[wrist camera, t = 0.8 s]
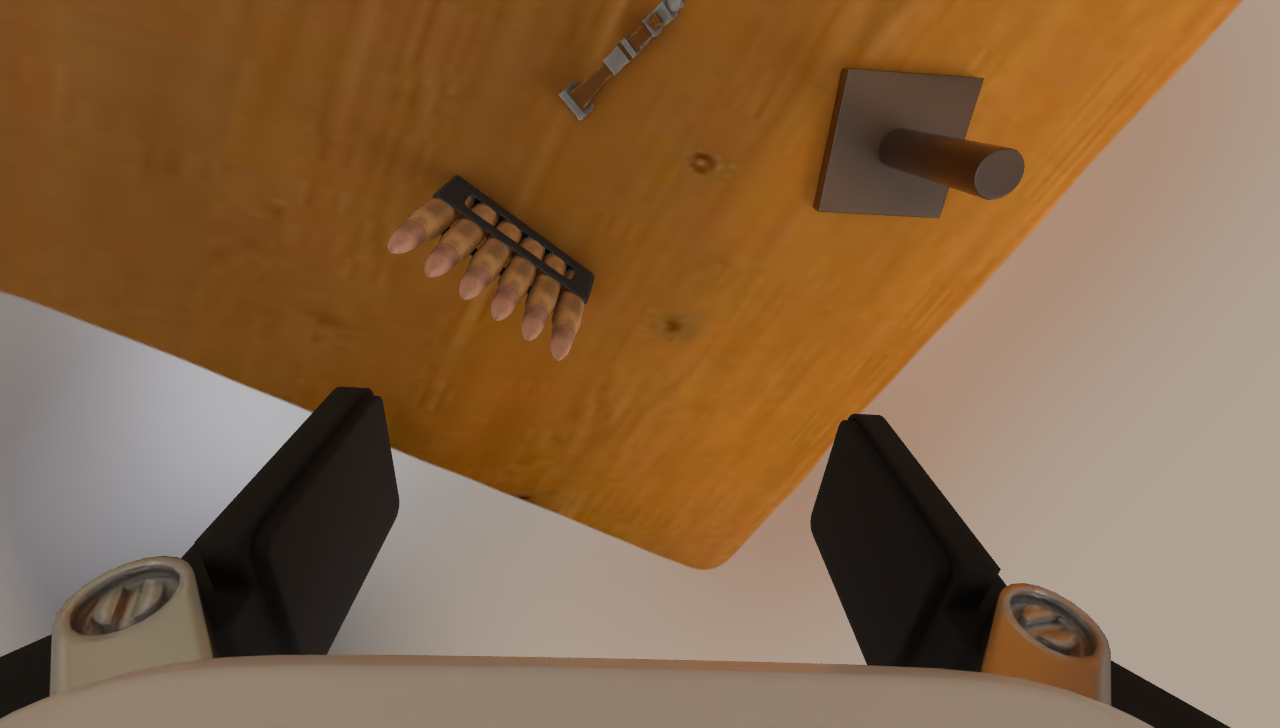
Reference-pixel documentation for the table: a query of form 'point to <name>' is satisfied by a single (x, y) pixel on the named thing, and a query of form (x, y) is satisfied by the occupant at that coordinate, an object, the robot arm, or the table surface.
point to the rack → (908, 146)
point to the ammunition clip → (499, 261)
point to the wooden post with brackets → (619, 58)
